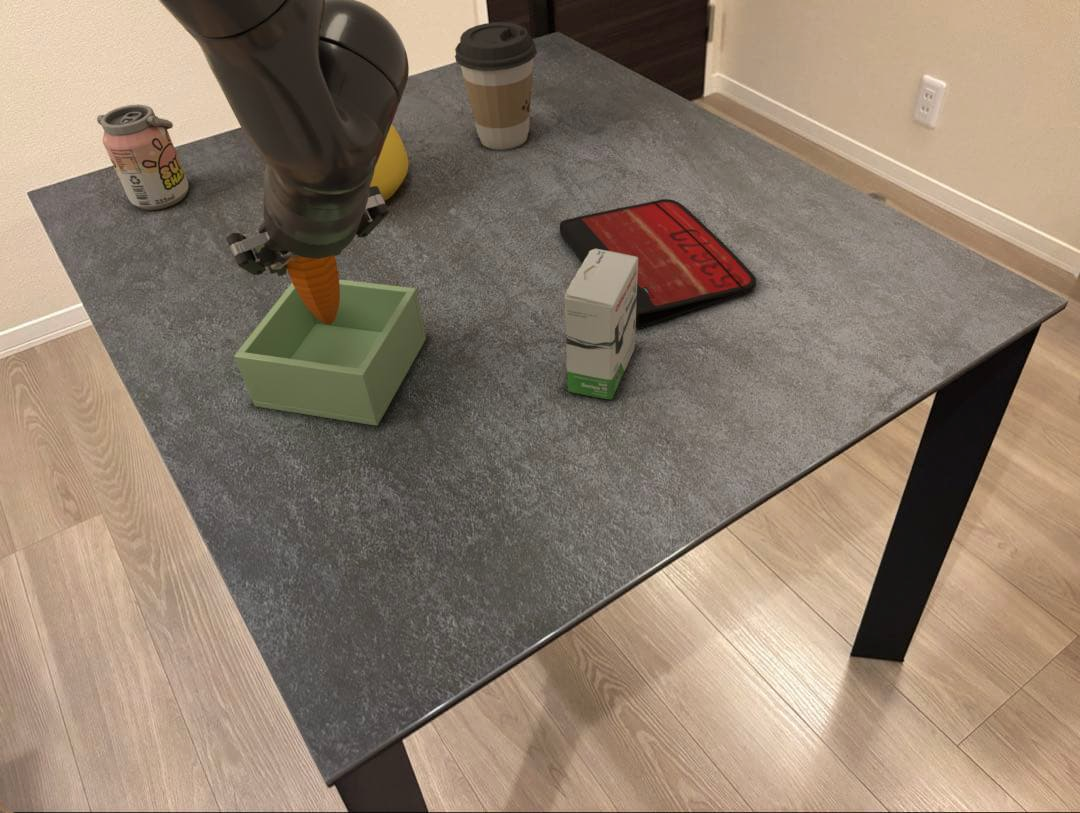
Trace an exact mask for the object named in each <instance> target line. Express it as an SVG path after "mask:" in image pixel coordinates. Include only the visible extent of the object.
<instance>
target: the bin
mask: <svg viewBox="0 0 1080 813" xmlns="http://www.w3.org/2000/svg"><path fill="white" fill-rule="evenodd" d="M339 285H340V301H339V308H338V312H337V315H336V318H335V321H334V322H333V323H332V324H331V325H327V324H324V323H322V322H321V321H320V320H319V319H317V318H316V317H315V316H314V315H313V314H312V313H311V312H310V311H309V309H308V308H307V307H306V306H305V304H304V302H303V301H302V299H301V298H300V296H299V294H298V292H297V291H296V289H295V287H294V285H293V283H292V282H291V283H290V284H289V286H288V287H286V290H285V291H283V293H282V295H281V296H280V297H279V298H278V300H277V301H276V302H275V303H274V305H273V306H272V307H271V308H270V309H269V311H268V312H267V313H266V314H265V316H264V317H263V319H262V320H261V321H260V322H259V323H258V324H257V326H256V327H255V329H254V330H253V331H252V332H251V334H250V335H249V336H248V337H247V339H246V340H245V341H244V343H243V344H242V345H241V346H240V348H239V349H238V350H237V351H236V353H235V354H234V355H233V358H234V360H235V362H236V363H235V364H236V366H237V367H238V370H239V373H240V374H241V377H242V379H243V381H244V384H245V387H246V388H247V391H248V393H249V396H250V398H251V401H252V403H253V405H254V407H257V408H263V409H269V410H276V411H280V412H281V411H282V412H287V413H294V414H301V415H307V416H314V417H319V418H324V419H325V418H326V419H332V420H337V421H343V422H344V421H345V422H351V423H357V424H363V425H369V426H375V427H376V426H379V424H380V422H381V420H382V419H383V416H384V415H385V413H386V411H387V410H388V408H389V406H390V404H391V403H392V401H393V399H394V397H395V396H396V393H397V392H398V390H399V388H400V387H401V384H402V383H403V381H404V379H405V377H406V376H407V374H408V372H409V371H410V369H411V367H412V365H413V363H414V361H415V359H416V358H417V356H418V354H419V352H420V350H421V349H422V347H423V345H424V344H425V342H426V340H427V336H426V330H425V326H424V321H423V316H422V315H423V314H422V312H421V305H420V300H419V295H418V292H417V288H416V287H408V286H407V287H406V286H398V285H391V284H383V283H375V282H374V283H373V282H365V281H356V280H350V279H349V280H348V279H340V278H339Z"/></svg>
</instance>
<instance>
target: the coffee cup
mask: <svg viewBox="0 0 1080 813" xmlns="http://www.w3.org/2000/svg"><path fill="white" fill-rule="evenodd" d="M528 32H529V31H528V29H527V28H525V27H523V26H522V25H520V24H517V23H513V22H506V21H496V22H487V23H481V24H478V25H474V26H472V27H470V28H467V29H466V30H465V31H464V32H462V33H461V35H460V37H459V43H457V45H456V47H455V48H454V51H455V55H454V59H455V62H456V63H457V64H458V65H460V68H461V72H462V75H463V81H464V84H465V88H466V92H467V97H468V100H469V105H470V109H471V112H472V117H473V120H474V125H475V128H476V132H477V136H478V138H479V139H480V143H481V144H482V145H483V146H484V147H485V148H488V149H491V150H500V151H501V150H502V151H504V150H511V149H514V148H517V147H519V146H521V145H524V144H525V142H526V141H527V139H528V134H529V132H530V120H531V119H530V118H531V103H532V102H531V101H532V84H533V66H534V65H533V64H534V58H535V57H536V55H537V53H538V51H537V48H536V46H537V45H536V43H535V40H534V39H533V37H531V36H530V35H529V33H528Z"/></svg>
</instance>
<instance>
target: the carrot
mask: <svg viewBox="0 0 1080 813" xmlns="http://www.w3.org/2000/svg"><path fill="white" fill-rule="evenodd" d="M286 272H287V273H288V275H289V277H290V278H289V279H290V280H291V283H293V285H294V287H295V289H296V291H297V292H298V294H299V296H300V298H301V299H302V301H303V302H304V304H305V306H306V307H307V308H308V309H309V311H310V312H311V313H312V314H313V315H314V316H315V317H316V318H317V319H319V320H320V321H321V322H322V323H324V324H327V325H331V324H332V323H333V322H334V321H335V318H336V315H337V312H338V308H339V301H340V285H339V279H340V275H339V274H340V273H339V268H338V263H337V260H336V256H335V255H332V256H329V257H325V258H317V259H316V258H305V257H300V258H299V259H298V260H297V261H296V262H293V263H290V264H287V270H286Z"/></svg>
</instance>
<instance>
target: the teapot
mask: <svg viewBox="0 0 1080 813" xmlns="http://www.w3.org/2000/svg"><path fill="white" fill-rule="evenodd" d="M409 166H410V165H409V157H408V153H407V150H406V148H405V145H404V142H403V140H402V138H401V136H400V134H399V132H398V131H397V129H396V128H395V126H394V125H393V123H392V124H391V127H390V129H389V132H388V135H387V137H386V140H385V142H384V146H383V148H382V151H381V154H380V157H379V159H378V162H377V164H376V166H375V170H374V174H373V178H372V181H371V184H370V187H372V186H378V188H379V190H380V192H381V195H382V197H383V199H384V201H387V200H388V199H390V198H391V197H392V196H394V195H395V193H396V192H397V190H398V189H399V188H400V187H401V185H402V184H403V182H404V180H405V178H406V176H407V174H408V171H409Z"/></svg>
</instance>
